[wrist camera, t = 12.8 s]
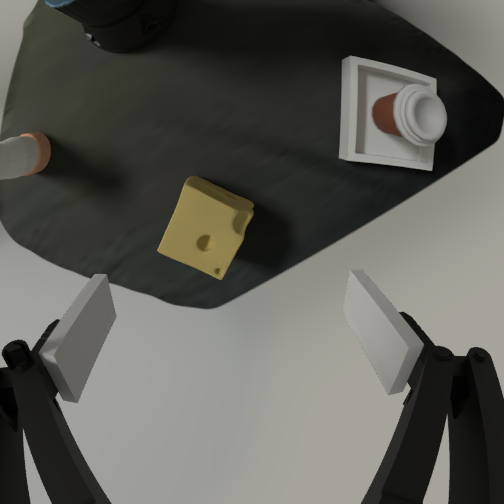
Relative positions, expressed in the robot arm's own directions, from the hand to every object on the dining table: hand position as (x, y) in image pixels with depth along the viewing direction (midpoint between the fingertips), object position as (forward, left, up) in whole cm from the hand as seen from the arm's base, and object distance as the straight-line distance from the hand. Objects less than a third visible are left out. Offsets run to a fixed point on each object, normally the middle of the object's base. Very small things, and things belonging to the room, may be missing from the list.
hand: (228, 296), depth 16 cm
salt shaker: (-8, -34, -33) cm, 48 cm away
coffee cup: (-13, +26, -32) cm, 43 cm away
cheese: (+5, -3, -33) cm, 34 cm away
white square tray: (-13, +26, -33) cm, 44 cm away
